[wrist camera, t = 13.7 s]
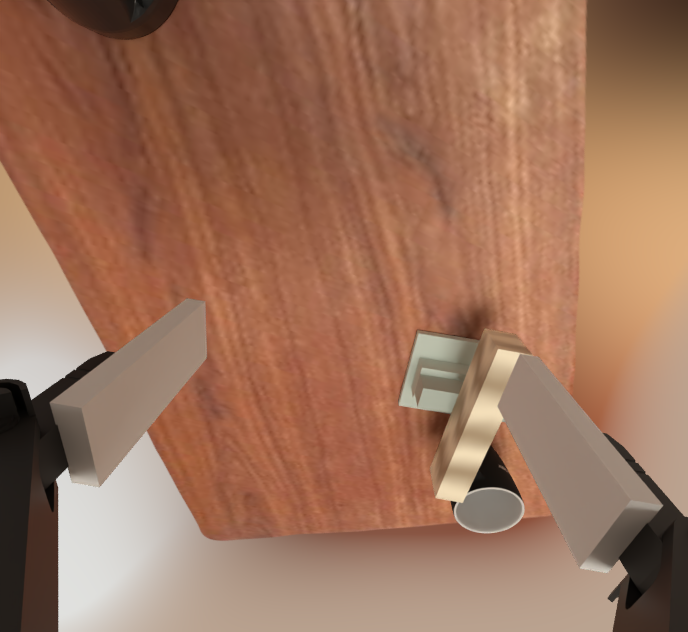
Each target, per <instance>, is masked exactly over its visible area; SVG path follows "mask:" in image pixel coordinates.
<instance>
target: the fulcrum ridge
mask: <svg viewBox="0 0 688 632" xmlns="http://www.w3.org/2000/svg"><path fill="white" fill-rule="evenodd" d="M479 341H480V340H475V339H469V338H463V337H457V336H451V335H445V334H439V333H433V332H427V331H421V330H417V334H416V337H415V341H414V345H413V348H412V352H411V356H410V359H409V363H408V367H407V370H406V374H405V378H404V381H403V385H402V389H401V393H400V396H399V400H398V404H399V406H405V407H411V408H417V409H423V410H429V411H435V412H441V413H447V414H451V413H452V410H453V408H454V405H455V402H456V400H457V397H458V395H459V392H460V390H461V387H462V385H463V382H464V379H465V377H466V374H467V372H468V369H469V367H470V364H471V361H472V359H473V356H474V354H475V351H476V349H477V346H478V344H479ZM502 422H505V420H504V418H503V420H502Z"/></svg>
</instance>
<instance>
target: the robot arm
mask: <svg viewBox="0 0 688 632" xmlns="http://www.w3.org/2000/svg"><path fill="white" fill-rule="evenodd" d="M48 1H49V2H50V3H51V4H52V5H53V6H54V7H55V8H56V9H57V10H59V11H60V12H61V13H62V14H64V15H65V16H67V17H68V18H70V19H71V20H73V21H74V22H76V23H78V24H79V25H81V26H84V27H86V28H88V29H90V30H92V31H94V32H97V33H99V34H101V35H104V36H107V37H110V38H115V39H134V38H139V37H142V36H145V35H147V34H149V33H151V32H152V31H154V30H155V29H157V28H158V27H159V26H160V25H161V24H162V23H163V22H164V21H165V20H166V19H167V18H168V16H169V15H170V14H171V12H172V10H173V9H174V7H175V5H176V3H177V1H178V0H48ZM206 358H207V345H206V310H205V301H200V300H194V299H188V298H187V299H185V300H184V301H183V302H182V303H180V304H179V305H178V306H176V307H175V308H174V309H172V310H171V311H170V312H168V313H167V314H166V315H164V316H163V317H162V318H160V319H159V320H158V321H156V322H155V323H154V324H153V325H151V326H150V327H149V328H147V329H146V330H145V331H143V332H142V333H141V334H139V335H138V336H137V337H135V338H134V339H133V340H131V341H130V342H129V343H127V344H126V345H125V346H123V347H122V348H121V349H120V350H118V351H117V352H116V353H115V352H109V351H107V352H105V353H102V354H100V355H97V356H95V357H93V358H90V359H89V360H87V361H86V362H84V363H83V364H82V365H80V366H79V367H77V369H76V370H73V371H72V372H70V373H69V374H67V375H66V376H65V378H62V379H60V380H59V381H58V382H56V383H55V384H53V385H52V386H51V387H49V388H48V389H46V390H45V391H44V392H42V393H41V394H39V395H38V396H37V397H35V398H34V399H32V400H31V398H30V394H29V391H28V388H27V386H26V383H23V382H22V381H19V380H13V379H2V380H0V632H58V486H57V483H56V478H58V476H59V475H60V474H61V473H62V472H63V471H64V470H65V469H66V468H67V467H68V470H69V473H70V478H71V481H72V483H78V484H84V485H90V486H95V487H100V486H101V485H102V484H103V483H104V481H105V480H106V479H107V478H108V477H109V475H110V474H111V473H112V472H113V471H114V469H115V468H116V467H117V466H118V465H119V463H120V462H121V461H122V460H123V458H124V457H125V456H126V455H127V453H128V452H129V451H130V450H131V449H132V448H133V446H134V445H135V444H136V443H137V442H138V440H139V439H140V438H141V437H142V435H143V434H144V433H145V432H146V431H147V429H148V428H149V427H150V426H151V425H152V423H153V422H154V421H155V420H156V419H157V417H158V416H159V415H160V414H161V413H162V411H163V410H164V409H165V408H166V406H167V405H168V404H169V403H170V402H171V400H172V399H173V398H174V397H175V396H176V394H177V393H178V392H179V391H180V390H181V388H182V387H183V386H184V385H185V384H186V382H187V381H188V380H189V379H190V377H191V376H192V375H193V374H194V373H195V371H196V370H197V369H198V368H199V367H200V365H201V364H202V363H203V362H204V361H205V359H206ZM497 407H498V409H499V410H500V412H501V414H502V416H503V418H504V420H505V422H506V424H507V426H508V428H509V430H510V432H511V434H512V436H513V438H514V440H515V442H516V444H517V446H518V448H519V450H520V452H521V454H522V456H523V458H524V460H525V462H526V464H527V466H528V468H529V470H530V472H531V474H532V476H533V478H534V480H535V482H536V484H537V486H538V487H539V489H540V491H541V493H542V495H543V497H544V499H545V501H546V503H547V505H548V507H549V509H550V511H551V513H552V515H553V517H554V519H555V521H556V523H557V525H558V527H559V529H560V531H561V533H562V535H563V537H564V539H565V541H566V543H567V545H568V547H569V549H570V551H571V553H572V555H573V556H574V559H575V560H576V562H577V564H578V566H579V568H581V569H587V570H593V571H598V572H604V573H608V572H609V571H610V569H611V568H612V567H613V566H614V565H615V563H616V562H617V561H618V560H619V559H620V561H621V563H622V564H623V566H624V568H625V569H626V571H627V572H628V574H627V576H626V577H625V578H624V579H623V580H622V581H621V582H620V584H619V585H618V586H617V587H616V588H615V589H614V590H613V592H612V593H611V594H610V595H609V597H608V599H609V600H610V601H611V602H613V601H614V600H615V599H616V598H617V597H619V600H618V604H617V610H616V616H615V621H614V627H613V632H688V517H684V516H683V514H682V513H681V512H680V511H679V510H678V509H677V508H676V506H675V505H674V504H673V503H672V502H671V501H670V499H669V498H668V497H667V496H666V495H665V494H664V493H663V491H662V490H661V489H660V488H659V487H658V486H657V485H656V483H655V482H654V481H653V480H652V479H651V478H650V477H649V476H648V475H646V474H645V471H644V470H643V469H642V467H641V466H640V465H639V464H638V463H635V459H634V458H633V457H632V456H631V455H630V454H629V452H628V451H627V450H626V449H625V448H624V447H623V446H622V445H620V444H619V443H618V442H617V441H615V440H614V439H613V438H612V437H610V436H609V435H608V434H605V433H602V432H601V431H600V430H599V428H598V427H597V426H596V425H595V424H594V422H593V421H592V420H591V419H590V418H589V416H588V415H587V414H586V413H585V412H584V411H583V409H582V408H581V407H580V406H579V405H578V403H577V402H576V401H575V400H574V399H573V397H572V396H571V395H570V394H569V393H568V391H567V390H566V389H565V388H564V387H563V386H562V384H561V383H560V382H559V381H558V380H557V378H556V377H555V376H554V375H553V374H552V372H551V371H550V370H549V369H548V368H547V366H546V365H545V364H544V363H543V362H542V360H541V359H540V358H539V357H537V356H531V355H525V354H520V355H519V357H518V359H517V362H516V364H515V366H514V369H513V371H512V373H511V376H510V378H509V380H508V383H507V385H506V387H505V390H504V392H503V394H502V396H501V399H500V401H499V403H498V406H497Z"/></svg>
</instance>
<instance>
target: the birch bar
mask: <svg viewBox="0 0 688 632" xmlns="http://www.w3.org/2000/svg"><path fill="white" fill-rule="evenodd" d="M520 354H525V355H531V356H533V355H532V353H531V352H530V351H529V350H528V348H527V347H526V346H525V345H524V344H523V342H522V341H521V340H520V339H519V337H518V336H517V335H516V334H513V333H507V332H502V331H497V330H491V329H486V328H484V331H483V333H482V336H481V338H480V341H479V344H478V346H477V349H476V351H475V354H474V356H473V359H472V361H471V364H470V367H469V369H468V372H467V374H466V377H465V379H464V382H463V385H462V387H461V390H460V392H459V395H458V397H457V400H456V402H455V405H454V408H453V410H452V413H451V415H450V418H449V420H448V423H447V425H446V428H445V431H444V433H443V436H442V438H441V441H440V443H439V446H438V449H437V451H436V454H435V456H434V459H433V461H432V464H431V466H430V473H431V478H432V483H433V489H434V494H435V498H438V499H444V500H449V501H455V502H460V503H463V501H464V499H465V497H466V495H467V493H468V491H469V489H470V487H471V484H472V482H473V480H474V478H475V476H476V474H477V472H478V470H479V468H480V466H481V464H482V461H483V459H484V457H485V455H486V453H487V451H488V449H489V447H490V445H491V443H492V441H493V438H494V436H495V434H496V432H497V430H498V428H499V426H500V424H501V422H502V420H503V416H502V414H501V412H500V410H499V409H498V407H497V406H498V403H499V401H500V399H501V396H502V394H503V392H504V390H505V387H506V385H507V383H508V380H509V378H510V376H511V373H512V371H513V369H514V366H515V364H516V362H517V359H518V357H519V355H520Z"/></svg>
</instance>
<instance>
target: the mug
mask: <svg viewBox="0 0 688 632" xmlns="http://www.w3.org/2000/svg"><path fill="white" fill-rule="evenodd" d="M451 505H452V510H453V514H454V517H455V519H456V520H457V522H458V523H459V524H460V525H461V526H463V527H464V528H466V529H468V530H471V531H474V532H478V533H496V532H500V531H504V530H506V529H509V528H511V527H512V526H514V525H515V524H516V523H518V522H519V521H520V519H521V518H522V516H523V514H524V509H525V508H524V503H523V500H522V498H521V495H520V493H519V491H518V489H517V487H516V485H515V483H514V481H513V479H512V477H511V475H510V474H509V472H508V470H507V468H506V467H505V465H504V463H503V462H502V460H501V458H500V457H499V455H498V454H497V453H496V451H495V450H494V449H493V447H492V446H491V445H490V447H489V449H488V451H487V453H486V455H485V457H484V459H483V461H482V464H481V466H480V468H479V470H478V472H477V474H476V476H475V478H474V480H473V482H472V484H471V487H470V489H469V491H468V493H467V495H466V497H465V499H464V501H463V503H460V502H455V501H451Z"/></svg>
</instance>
